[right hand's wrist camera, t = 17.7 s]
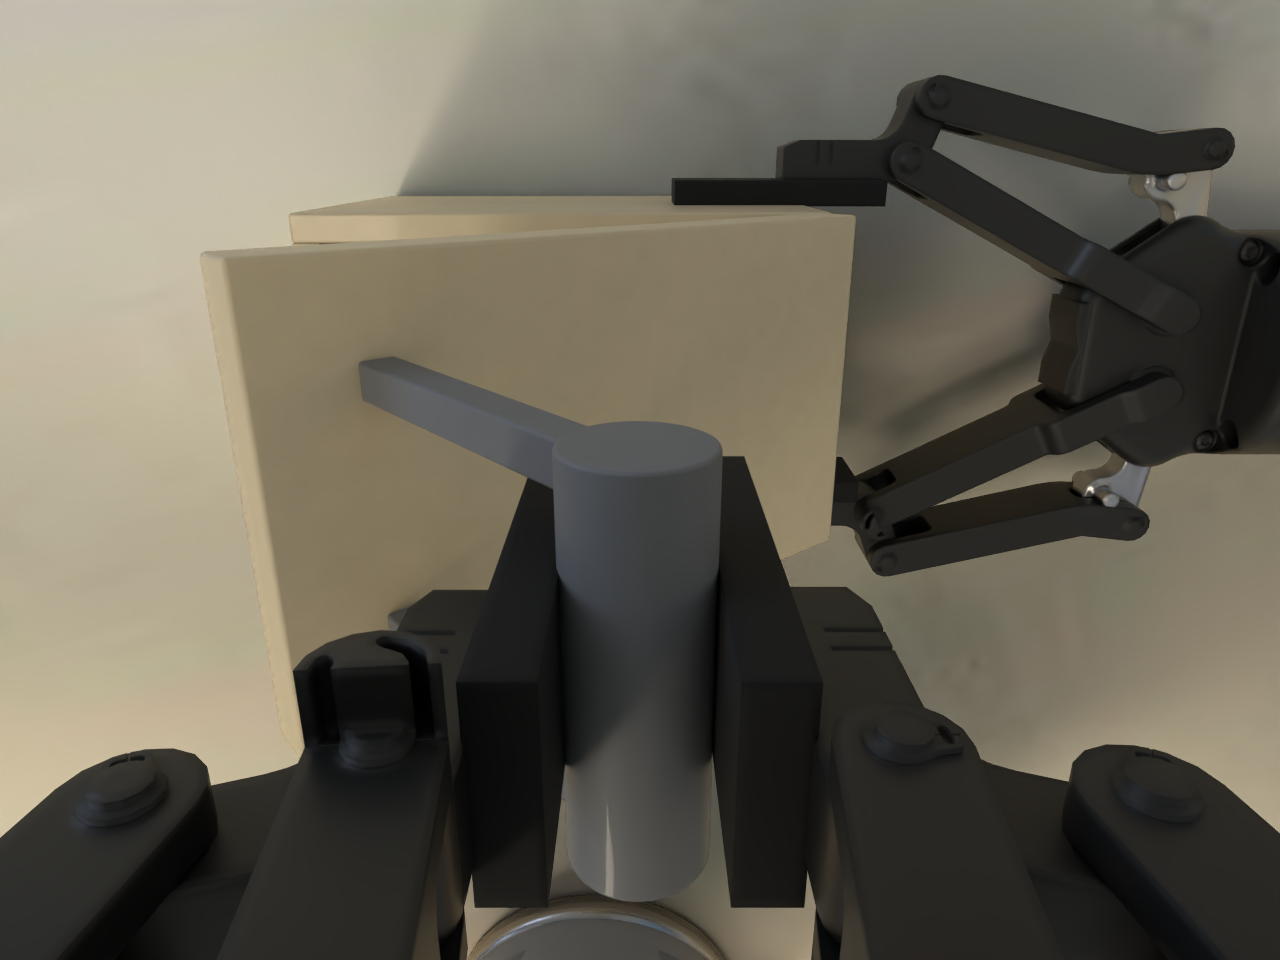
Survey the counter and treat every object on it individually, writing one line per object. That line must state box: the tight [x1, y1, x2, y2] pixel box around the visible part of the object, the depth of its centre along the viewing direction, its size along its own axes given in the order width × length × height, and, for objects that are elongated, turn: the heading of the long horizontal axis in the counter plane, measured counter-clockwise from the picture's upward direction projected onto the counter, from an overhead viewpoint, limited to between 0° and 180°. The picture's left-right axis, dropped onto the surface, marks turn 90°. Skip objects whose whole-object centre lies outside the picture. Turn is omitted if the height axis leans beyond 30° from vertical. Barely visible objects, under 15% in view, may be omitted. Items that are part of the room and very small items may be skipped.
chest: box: [289, 196, 832, 246], centre depth 30 cm, size 14×9×11 cm, turn 90°
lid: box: [200, 213, 856, 902], centre depth 17 cm, size 16×9×9 cm
